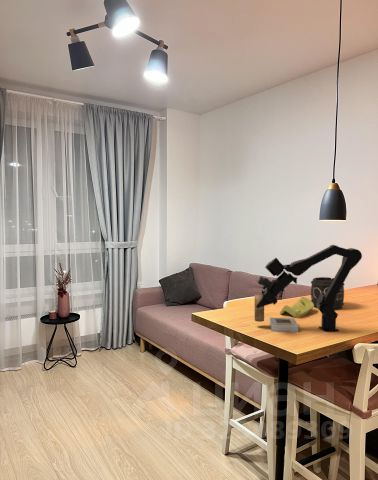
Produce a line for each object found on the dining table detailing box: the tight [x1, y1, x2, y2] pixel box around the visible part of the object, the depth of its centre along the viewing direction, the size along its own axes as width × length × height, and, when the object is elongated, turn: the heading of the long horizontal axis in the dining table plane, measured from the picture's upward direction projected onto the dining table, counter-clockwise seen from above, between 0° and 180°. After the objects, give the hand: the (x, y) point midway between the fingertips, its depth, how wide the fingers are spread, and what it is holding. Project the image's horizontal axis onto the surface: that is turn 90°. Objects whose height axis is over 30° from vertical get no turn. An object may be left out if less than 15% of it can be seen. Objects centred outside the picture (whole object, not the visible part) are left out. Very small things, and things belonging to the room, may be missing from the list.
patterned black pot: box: [310, 276, 345, 311], centre depth 207 cm, size 18×18×16 cm
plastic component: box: [279, 296, 315, 319], centre depth 193 cm, size 20×7×10 cm
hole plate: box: [269, 317, 299, 333], centre depth 168 cm, size 12×12×3 cm
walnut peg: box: [254, 293, 265, 323], centre depth 169 cm, size 4×4×12 cm
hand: (256, 306), depth 169 cm, fingers closed on walnut peg, 4 cm apart
